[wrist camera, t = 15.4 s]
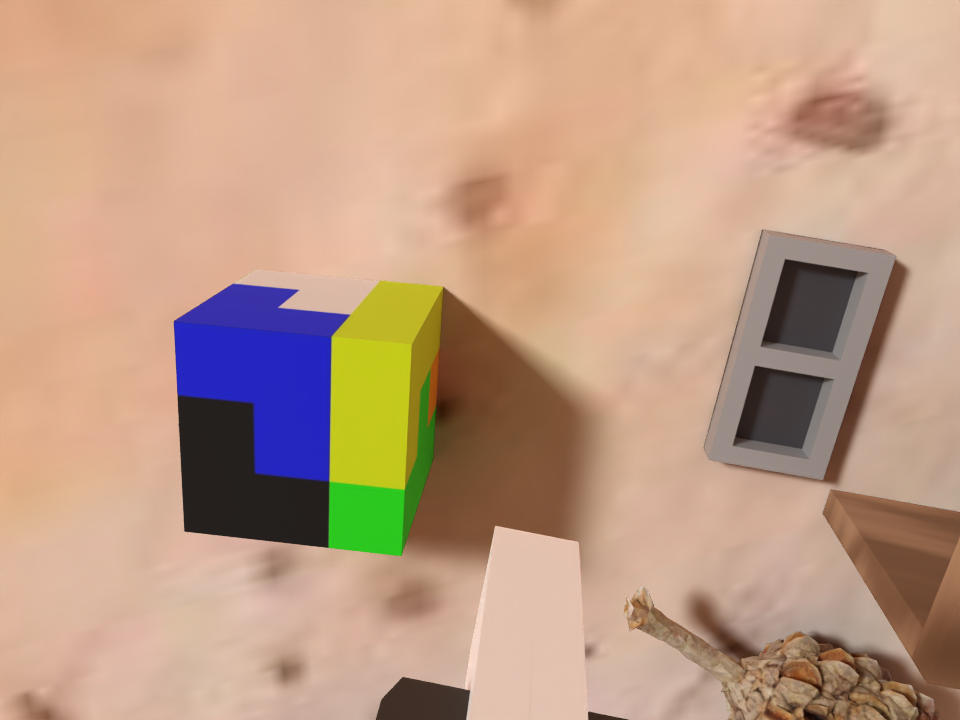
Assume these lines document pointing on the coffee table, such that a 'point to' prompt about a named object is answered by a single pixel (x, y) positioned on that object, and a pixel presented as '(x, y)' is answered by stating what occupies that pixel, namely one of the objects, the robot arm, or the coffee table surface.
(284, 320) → the puzzle toy
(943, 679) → the tunnel
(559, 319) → the coffee table surface
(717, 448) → the tray
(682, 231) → the coffee table surface
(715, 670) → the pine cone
